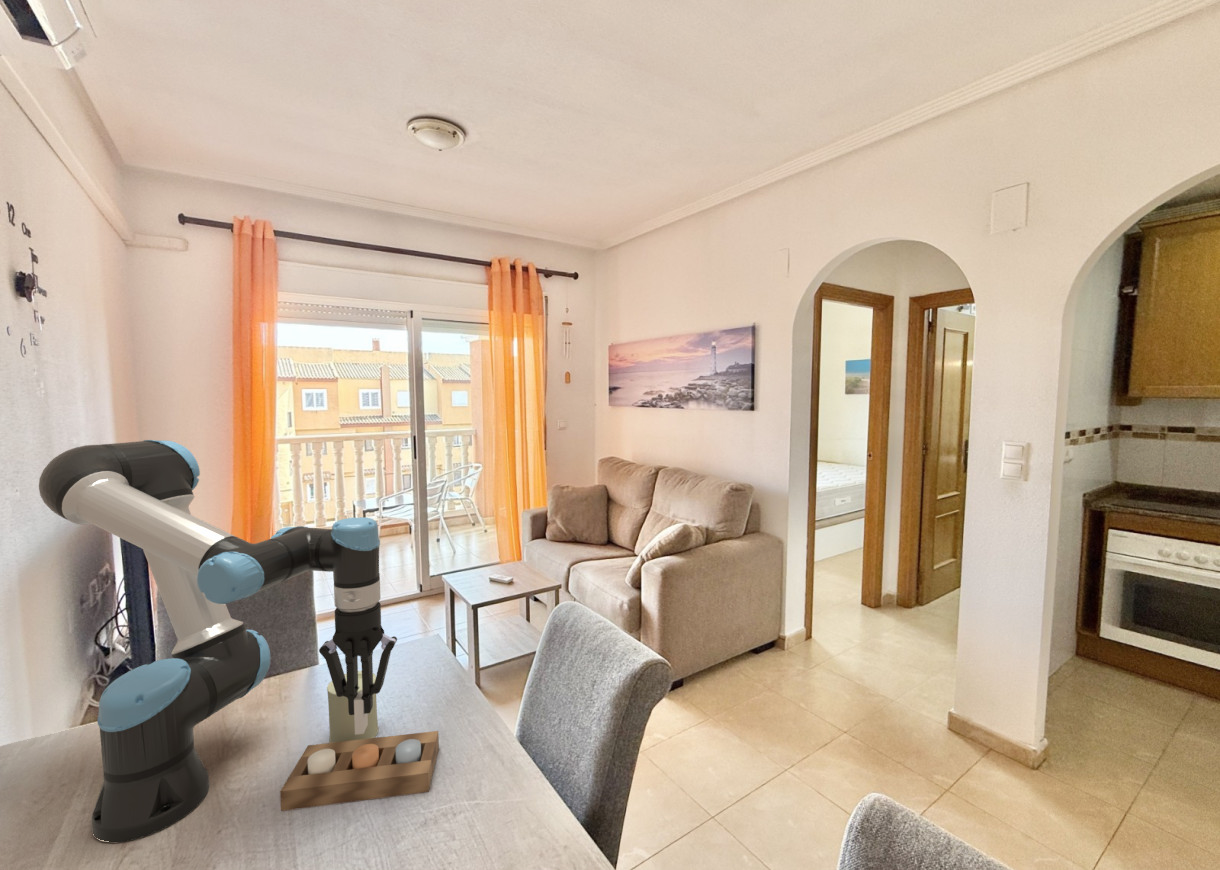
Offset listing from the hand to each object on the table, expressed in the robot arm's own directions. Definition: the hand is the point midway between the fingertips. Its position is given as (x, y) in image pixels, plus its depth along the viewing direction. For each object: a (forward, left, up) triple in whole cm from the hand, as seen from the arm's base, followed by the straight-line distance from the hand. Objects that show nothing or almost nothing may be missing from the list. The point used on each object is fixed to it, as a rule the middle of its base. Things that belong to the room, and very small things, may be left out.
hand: (361, 729), depth 96 cm
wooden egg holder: (+1, 0, -9) cm, 9 cm away
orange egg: (+1, 0, -9) cm, 9 cm away
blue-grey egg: (+8, 0, -9) cm, 12 cm away
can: (-5, +13, -9) cm, 17 cm away
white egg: (-7, 0, -9) cm, 11 cm away
